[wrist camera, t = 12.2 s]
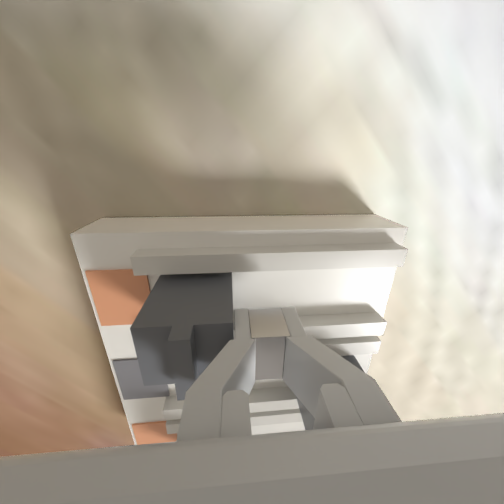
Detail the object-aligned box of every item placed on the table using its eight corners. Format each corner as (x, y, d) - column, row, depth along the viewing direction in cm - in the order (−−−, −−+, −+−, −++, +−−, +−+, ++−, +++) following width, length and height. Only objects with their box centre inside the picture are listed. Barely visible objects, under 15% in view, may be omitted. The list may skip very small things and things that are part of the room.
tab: (231, 272, 10) (233, 337, 6) (233, 317, 11) (235, 395, 7) (160, 274, 10) (121, 344, 6) (167, 320, 11) (137, 403, 7)
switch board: (375, 214, 12) (421, 233, 9) (332, 409, 19) (352, 458, 16) (102, 217, 11) (55, 241, 8) (153, 425, 17) (137, 482, 14)
